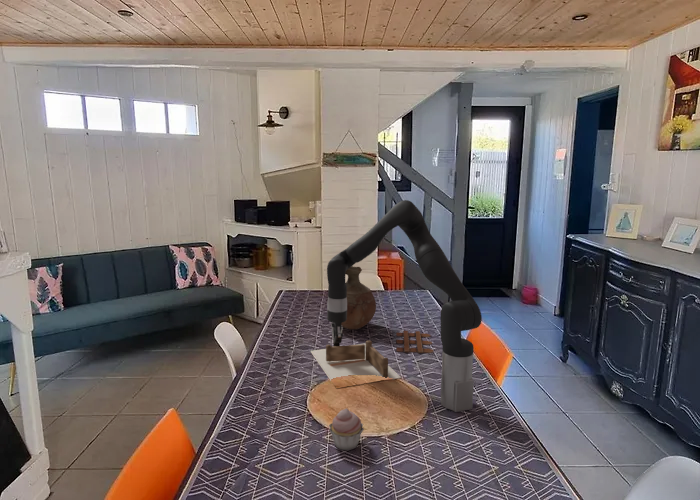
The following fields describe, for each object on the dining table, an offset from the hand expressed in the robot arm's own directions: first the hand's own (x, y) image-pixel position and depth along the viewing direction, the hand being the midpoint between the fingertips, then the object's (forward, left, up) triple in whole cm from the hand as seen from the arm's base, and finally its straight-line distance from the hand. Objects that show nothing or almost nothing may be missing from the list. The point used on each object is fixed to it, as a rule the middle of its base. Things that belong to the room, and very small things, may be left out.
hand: (336, 350), depth 173 cm
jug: (+32, -18, -4) cm, 37 cm away
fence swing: (-4, -2, -3) cm, 5 cm away
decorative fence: (+5, -36, -4) cm, 37 cm away
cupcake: (-53, +15, -4) cm, 55 cm away
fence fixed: (-13, -11, -3) cm, 17 cm away
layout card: (-6, -4, -3) cm, 8 cm away
